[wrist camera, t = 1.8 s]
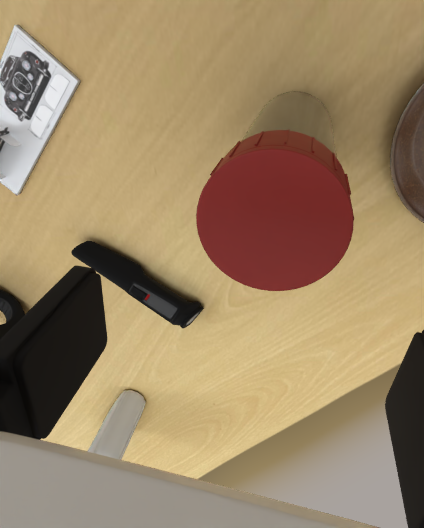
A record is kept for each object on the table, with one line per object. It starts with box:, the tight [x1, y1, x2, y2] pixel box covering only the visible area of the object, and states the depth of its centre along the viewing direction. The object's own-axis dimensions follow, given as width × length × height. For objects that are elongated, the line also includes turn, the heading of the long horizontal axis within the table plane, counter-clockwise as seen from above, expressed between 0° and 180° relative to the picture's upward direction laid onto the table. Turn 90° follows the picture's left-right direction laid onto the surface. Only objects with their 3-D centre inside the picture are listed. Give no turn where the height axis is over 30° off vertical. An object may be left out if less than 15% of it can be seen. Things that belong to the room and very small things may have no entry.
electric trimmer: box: [72, 241, 204, 328], centre depth 43 cm, size 4×16×3 cm, turn 57°
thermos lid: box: [196, 129, 354, 291], centre depth 19 cm, size 7×7×4 cm
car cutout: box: [0, 25, 81, 195], centre depth 36 cm, size 15×7×4 cm, turn 140°
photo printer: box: [88, 390, 146, 460], centre depth 53 cm, size 10×4×12 cm, turn 152°
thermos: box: [242, 91, 337, 158], centre depth 25 cm, size 6×6×18 cm
